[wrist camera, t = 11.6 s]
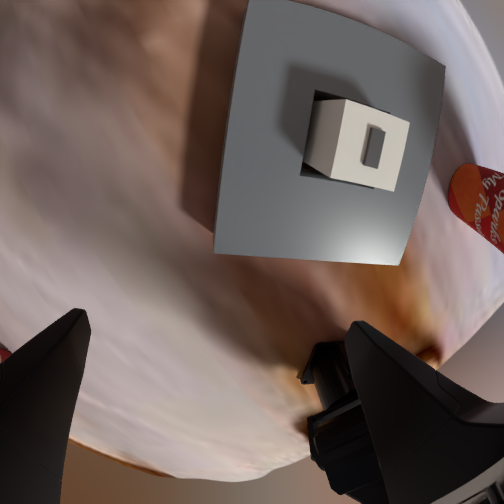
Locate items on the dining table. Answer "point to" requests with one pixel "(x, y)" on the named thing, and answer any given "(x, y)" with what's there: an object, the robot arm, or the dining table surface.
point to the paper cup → (479, 201)
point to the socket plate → (295, 134)
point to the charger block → (355, 143)
